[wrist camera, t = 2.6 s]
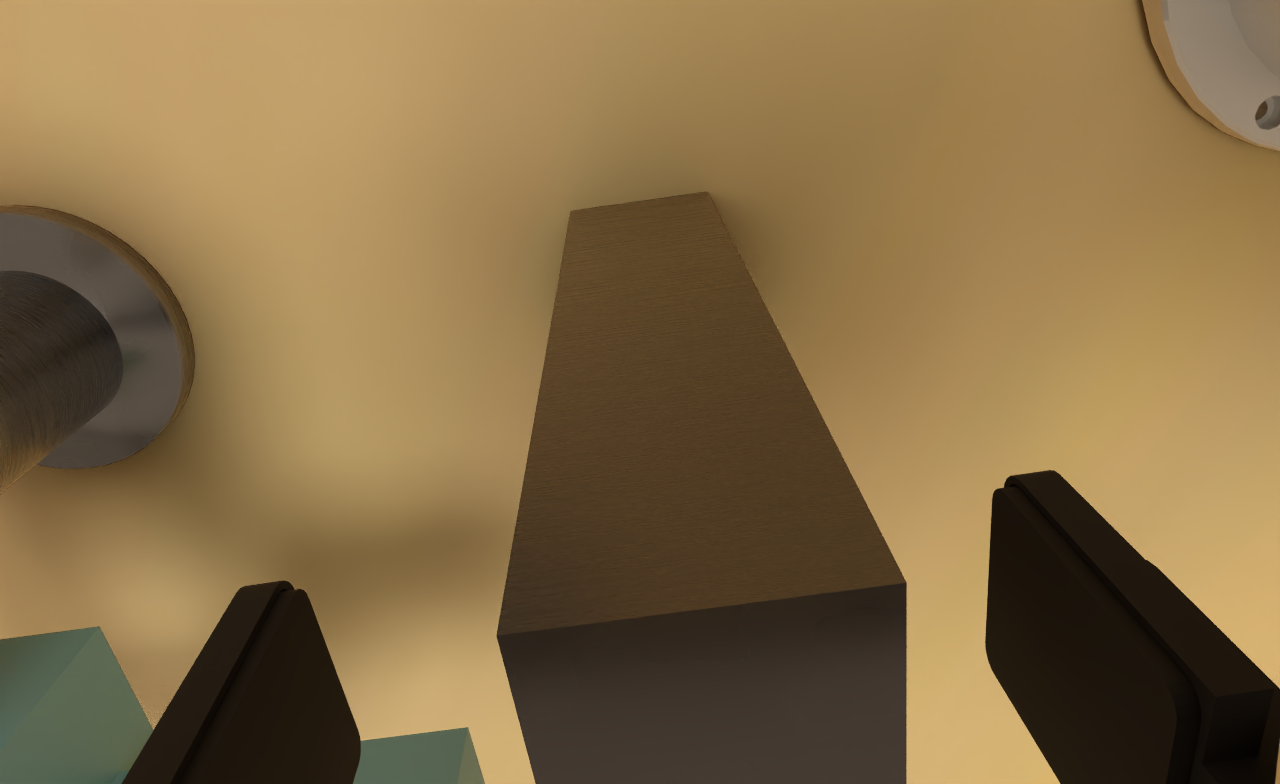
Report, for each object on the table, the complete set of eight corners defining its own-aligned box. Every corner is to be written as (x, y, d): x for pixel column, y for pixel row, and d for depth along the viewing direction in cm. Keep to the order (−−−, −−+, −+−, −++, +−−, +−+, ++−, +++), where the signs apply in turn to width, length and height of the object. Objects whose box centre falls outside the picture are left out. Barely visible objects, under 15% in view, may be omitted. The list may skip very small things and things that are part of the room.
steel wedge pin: (707, 191, 24) (907, 582, 8) (720, 320, 26) (905, 857, 10) (570, 210, 25) (496, 635, 8) (592, 338, 26) (566, 899, 10)
